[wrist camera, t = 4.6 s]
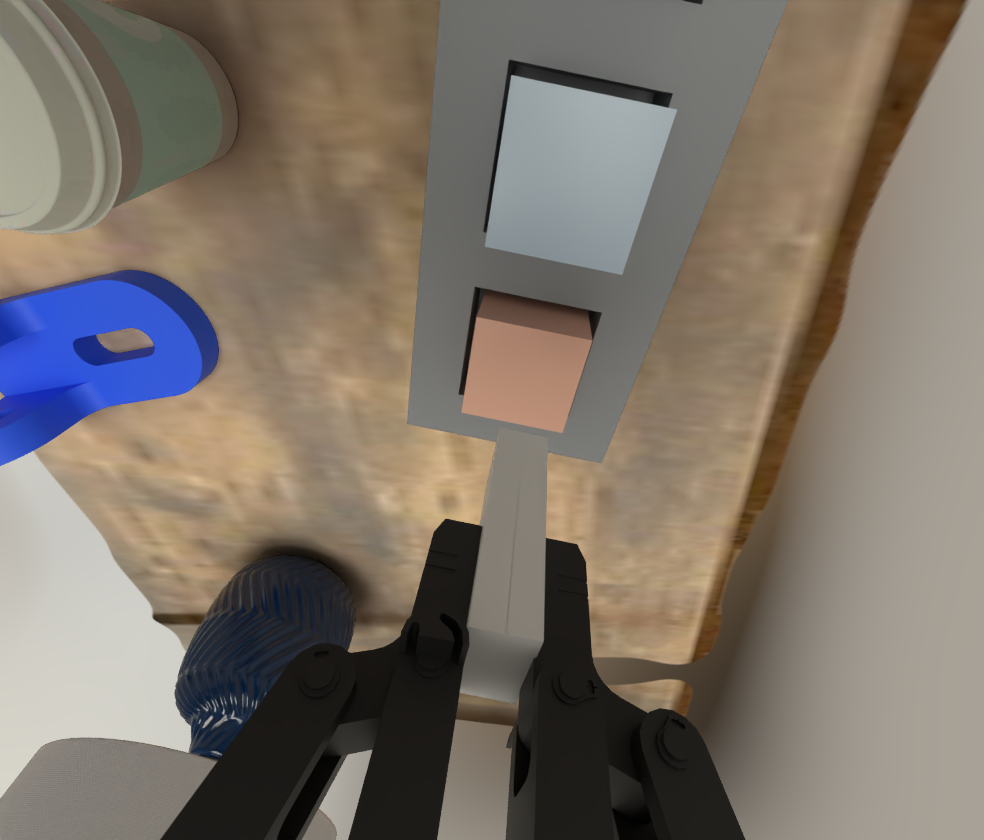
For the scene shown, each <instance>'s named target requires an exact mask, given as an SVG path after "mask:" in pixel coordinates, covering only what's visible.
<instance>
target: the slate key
mask: <svg viewBox="0 0 984 840" xmlns="http://www.w3.org/2000/svg"><path fill="white" fill-rule="evenodd" d="M676 112H677V109H672V108H667V107H662V106H657V105H653V104H648V103H643V102H638V101H633V100H629V99H624V98H619V97H614V96H609V95H605V94H600V93H595V92H590V91H585V90H581V89H576V88H571V87H566V86H561V85H557V84H552V83H547V82H542V81H537V80H533V79H528V78H523V77H518V76H513V75H511V81H510V88H509V94H508V100H507V107H506V113H505V120H504V126H503V133H502V139H501V145H500V152H499V158H498V165H497V171H496V177H495V184H494V190H493V197H492V203H491V210H490V216H489V222H488V229H487V235H486V242H485V247H489V248H494V249H499V250H504V251H508V252H513V253H518V254H523V255H528V256H533V257H538V258H542V259H547V260H552V261H557V262H562V263H567V264H572V265H577V266H581V267H586V268H591V269H596V270H601V271H606V272H611V273H615V274H620V275H622V274H623V271H624V268H625V265H626V262H627V259H628V256H629V253H630V250H631V247H632V244H633V241H634V238H635V235H636V232H637V229H638V226H639V223H640V220H641V217H642V214H643V211H644V208H645V205H646V202H647V199H648V196H649V193H650V190H651V187H652V184H653V181H654V178H655V175H656V172H657V169H658V166H659V163H660V160H661V157H662V154H663V151H664V148H665V145H666V142H667V139H668V136H669V133H670V130H671V127H672V124H673V121H674V118H675V115H676Z"/></svg>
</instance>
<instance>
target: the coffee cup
mask: <svg viewBox="0 0 984 840" xmlns="http://www.w3.org/2000/svg"><path fill="white" fill-rule="evenodd" d="M237 129H238V111H237V104H236V100H235V96H234V93H233V90H232V87H231V85H230V83H229V81H228V78H227V77H226V75H225V73H224V71H223V70H222V68H221V66H220V65H219V63H218V62H217V61H216V59H215V58H214V57H213V56H212V55H211V53H210V52H209V51H208V50H207V49H206V48H205V47H204V46H203V45H201V44H200V43H199V42H198V41H197V40H195V39H194V38H192V37H191V36H189V35H187V34H186V33H184V32H182V31H179V30H177V29H174V28H172V27H169V26H166V25H164V24H161V23H158V22H156V21H153V20H150V19H148V18H145V17H142V16H140V15H137V14H134V13H131V12H129V11H126V10H123V9H121V8H118V7H115V6H112V5H110V4H107V3H104V2H101V1H99V0H0V229H5V230H18V231H22V232H26V233H32V234H44V235H45V234H58V233H60V234H63V233H74V232H79V231H82V230H85V229H88V228H90V227H92V226H94V225H95V224H97V223H98V222H100V221H101V220H102V219H103V218H104V217H105V216H106V215H107V214H108V212H109V211H110V209H111V208H114V207H116V206H118V205H120V204H123V203H125V202H127V201H129V200H131V199H133V198H136V197H138V196H140V195H142V194H144V193H147V192H149V191H151V190H153V189H155V188H157V187H160V186H162V185H164V184H166V183H168V182H171V181H173V180H175V179H177V178H179V177H181V176H184V175H186V174H188V173H190V172H192V171H195V170H197V169H199V168H201V167H203V166H205V165H207V164H209V163H211V162H214V161H216V160H218V159H220V158H221V157H223V156H224V155H225V154H226V153H227V152H228V151H229V150H230V148H231V147H232V145H233V143H234V141H235V138H236V134H237Z"/></svg>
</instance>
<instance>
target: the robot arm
mask: <svg viewBox="0 0 984 840" xmlns="http://www.w3.org/2000/svg"><path fill="white" fill-rule="evenodd" d="M547 450H548V437H544V436H539V435H535V434H530V433H525V432H520V431H515V430H510V429H505V428H501V427H500V429H499V434H498V438H497V442H496V447H495V451H494V455H493V460H492V464H491V468H490V473H489V477H488V481H487V486H486V490H485V496H484V501H483V507H482V513H481V519H480V525H474V524H469V523H464V522H459V521H455V520H450V519H445V520H444V521H443V522H442V523H441V525H440V526H439V527H438V528H437V529H436V530H435V531H434V533H433V537H432V541H431V545H430V548H429V553H428V556H427V559H426V563H425V567H424V570H423V574H422V578H421V582H420V585H419V589H418V593H417V596H416V600H415V604H414V607H413V611H412V615H411V617H410V618H409V619H407V621H406V623H405V625H404V627H403V629H402V631H401V636H400V637H399V638H398V639H396V640H395V641H394V642H393V643H391V644H389V645H387V646H385V647H382V648H378V649H374V650H368V651H361V652H354V653H349V652H348V651H347V650H345V649H344V648H343V647H341V646H339V645H335V644H331V643H324V644H316V645H313V646H311V647H309V648H307V649H305V650H303V651H301V652H300V653H299V654H298V655H297V656H296V657H295V658H294V659H293V660H292V661H291V662H290V663H289V664H288V666H287V667H286V669H285V670H284V671H283V673H282V674H281V675H280V677H279V678H278V679H277V681H276V682H275V684H274V685H273V686H272V688H271V689H270V690H269V692H268V693H267V694H266V696H265V697H264V699H263V700H262V701H261V703H260V704H259V705H258V707H257V708H256V709H255V711H254V712H253V714H252V715H251V716H250V718H249V719H248V720H247V722H246V723H245V724H244V726H243V727H242V729H241V730H240V731H239V733H238V734H237V735H236V737H235V738H234V739H233V741H232V742H231V744H230V745H229V746H228V748H227V749H226V750H225V752H224V753H223V754H222V756H221V757H220V758H219V760H218V761H217V763H216V764H215V765H214V767H213V768H212V769H211V771H210V772H209V773H208V775H207V776H206V778H205V779H204V780H203V782H202V783H201V784H200V786H199V787H198V788H197V790H196V791H195V793H194V794H193V795H192V797H191V798H190V799H189V801H188V802H187V803H186V805H185V806H184V808H183V809H182V810H181V812H180V813H179V814H178V816H177V817H176V818H175V820H174V821H173V823H172V824H171V825H170V827H169V828H168V829H167V831H166V832H165V833H164V835H163V836H162V838H161V839H160V840H302V838H303V836H304V835H305V833H306V831H307V829H308V827H309V825H310V823H311V822H312V820H313V818H314V816H315V814H316V812H317V810H318V809H319V807H320V805H321V803H322V801H323V799H324V797H325V796H326V794H327V792H328V790H329V788H330V786H331V784H332V782H333V781H334V779H335V777H336V775H337V773H338V771H339V769H340V768H341V766H342V764H343V762H344V760H345V758H346V756H347V755H348V754H352V753H357V752H362V751H367V750H372V749H373V750H372V754H371V758H370V761H369V765H368V769H367V773H366V776H365V780H364V784H363V787H362V791H361V795H360V798H359V802H358V806H357V809H356V813H355V817H354V821H353V824H352V828H351V832H350V835H349V839H348V840H437V836H438V829H439V822H440V816H441V810H442V803H443V796H444V790H445V784H446V777H447V771H448V764H449V758H450V751H451V745H452V738H453V732H454V725H455V719H456V712H457V706H458V699H459V693H463V694H468V695H474V696H479V697H484V698H489V699H494V700H499V701H504V702H509V703H514V704H516V702H517V699H518V697H519V711H518V719H517V721H516V723H515V725H514V727H513V729H512V731H511V733H510V736H509V738H508V743H507V748H512V754H511V769H510V785H509V799H508V800H509V801H508V813H507V828H506V840H745V838H744V835H743V833H742V831H741V828H740V825H739V823H738V821H737V818H736V816H735V814H734V811H733V809H732V807H731V804H730V802H729V799H728V797H727V795H726V792H725V790H724V787H723V785H722V783H721V780H720V778H719V776H718V773H717V771H716V768H715V766H714V763H713V761H712V759H711V756H710V754H709V752H708V749H707V747H706V744H705V743H704V741H703V739H702V737H701V736H700V734H699V732H698V730H697V729H696V728H695V727H694V726H693V725H692V724H691V723H690V722H689V721H688V720H687V719H686V718H685V717H684V716H682V715H680V714H678V713H676V712H675V711H673V710H667V709H661V708H660V709H657V710H654V711H651V712H649V713H647V712H645V711H643V710H641V709H640V708H638V707H636V706H634V705H633V704H631V703H629V702H627V701H625V700H624V699H622V698H620V697H619V696H618V695H616V694H615V693H613V692H612V691H611V690H610V689H609V688H608V687H607V686H606V685H605V684H604V683H603V681H602V680H601V678H600V677H599V675H598V674H597V671H596V669H595V666H594V664H593V658H592V650H591V634H590V619H589V604H588V599H587V598H588V588H587V573H586V561H585V559H584V557H583V555H582V553H581V551H580V549H579V547H578V545H577V544H573V543H568V542H563V541H558V540H553V539H548V538H546V500H547Z"/></svg>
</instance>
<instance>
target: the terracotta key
mask: <svg viewBox="0 0 984 840" xmlns="http://www.w3.org/2000/svg"><path fill="white" fill-rule="evenodd" d="M591 343H592V335H591V328H590V321H589V315H588V310H587V309H582V308H577V307H572V306H567V305H562V304H557V303H553V302H548V301H543V300H538V299H533V298H528V297H523V296H518V295H514V294H509V293H504V292H499V291H494V290H489V289H486V291H485V294H484V297H483V300H482V303H481V306H480V309H479V311H478V314H477V317H476V324H475V330H474V336H473V343H472V349H471V355H470V361H469V368H468V374H467V380H466V386H465V393H464V399H463V405H462V411H461V413H466V414H471V415H476V416H481V417H486V418H490V419H495V420H500V421H505V422H510V423H515V424H520V425H525V426H530V427H535V428H540V429H545V430H550V431H555V432H559V433H563V430H564V427H565V424H566V421H567V418H568V415H569V411H570V408H571V405H572V402H573V399H574V396H575V393H576V390H577V387H578V384H579V381H580V377H581V374H582V371H583V368H584V365H585V362H586V359H587V356H588V353H589V350H590V346H591Z"/></svg>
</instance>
